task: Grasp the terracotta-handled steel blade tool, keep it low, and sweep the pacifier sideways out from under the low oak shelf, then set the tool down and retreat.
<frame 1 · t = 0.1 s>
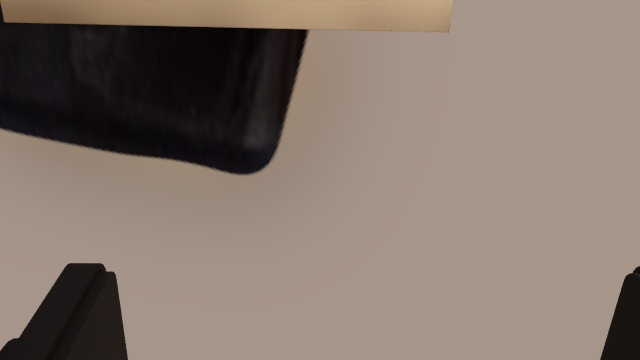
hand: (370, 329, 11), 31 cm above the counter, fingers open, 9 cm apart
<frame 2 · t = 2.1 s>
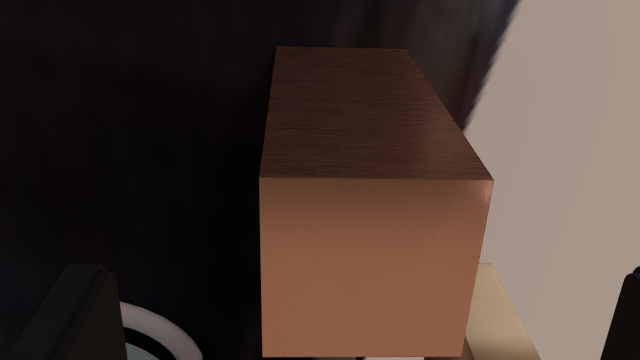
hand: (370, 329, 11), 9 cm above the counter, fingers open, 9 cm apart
blade tool: (338, 108, 19), on the counter
pacifier: (122, 350, 23), on the counter
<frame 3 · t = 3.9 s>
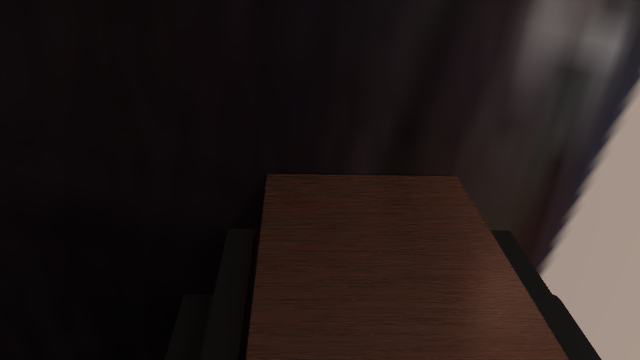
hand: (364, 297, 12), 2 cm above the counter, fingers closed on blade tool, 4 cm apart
blade tool: (357, 256, 13), on the counter, touching gripper
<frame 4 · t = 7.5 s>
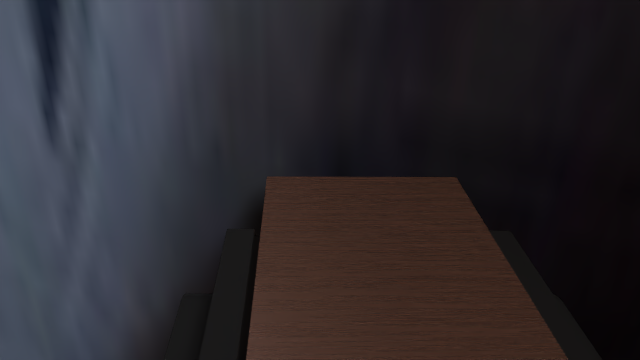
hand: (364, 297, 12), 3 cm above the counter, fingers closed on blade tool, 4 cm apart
blade tool: (357, 258, 13), point 1 cm above the counter, touching gripper, pacifier
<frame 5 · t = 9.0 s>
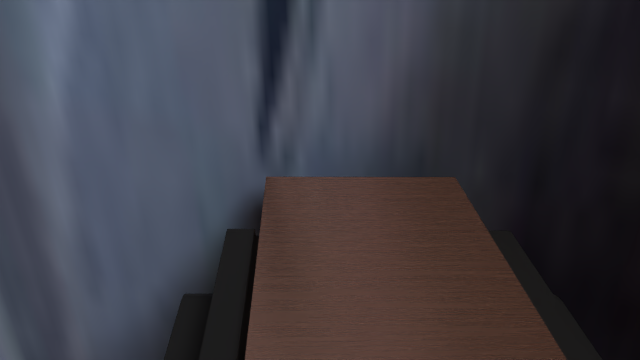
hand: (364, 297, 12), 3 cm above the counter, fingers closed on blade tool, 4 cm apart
blade tool: (356, 258, 13), point 1 cm above the counter, touching gripper, pacifier
when the fingers open (2 cm above the counter, at t = 10.5 s): blade tool stays where it is, on the counter.
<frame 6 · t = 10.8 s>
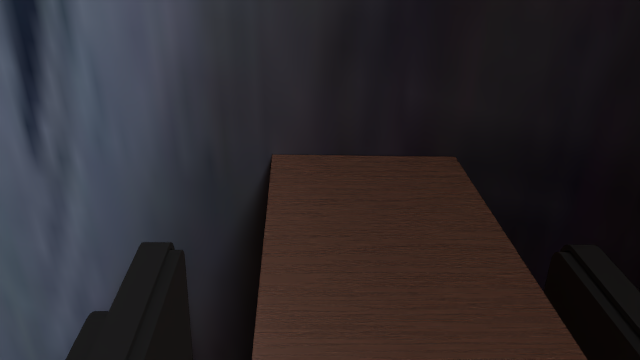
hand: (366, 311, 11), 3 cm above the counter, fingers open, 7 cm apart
blade tool: (359, 235, 13), on the counter
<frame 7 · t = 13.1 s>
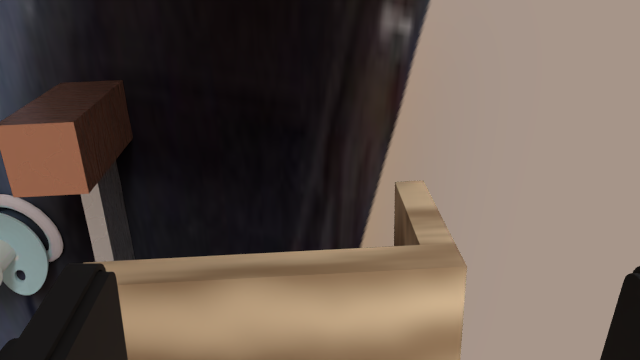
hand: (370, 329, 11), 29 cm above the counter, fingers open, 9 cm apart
blade tool: (97, 111, 38), on the counter
pacifier: (19, 231, 42), on the counter
oak shelf: (280, 255, 43), on the counter
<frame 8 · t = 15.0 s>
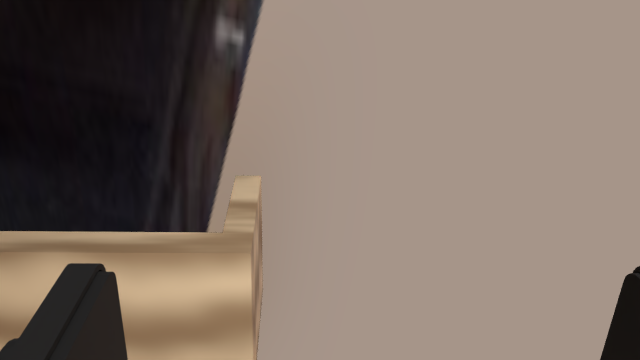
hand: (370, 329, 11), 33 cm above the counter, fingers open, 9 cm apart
oak shelf: (133, 235, 48), on the counter
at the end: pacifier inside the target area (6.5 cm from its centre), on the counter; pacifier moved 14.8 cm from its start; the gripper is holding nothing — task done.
